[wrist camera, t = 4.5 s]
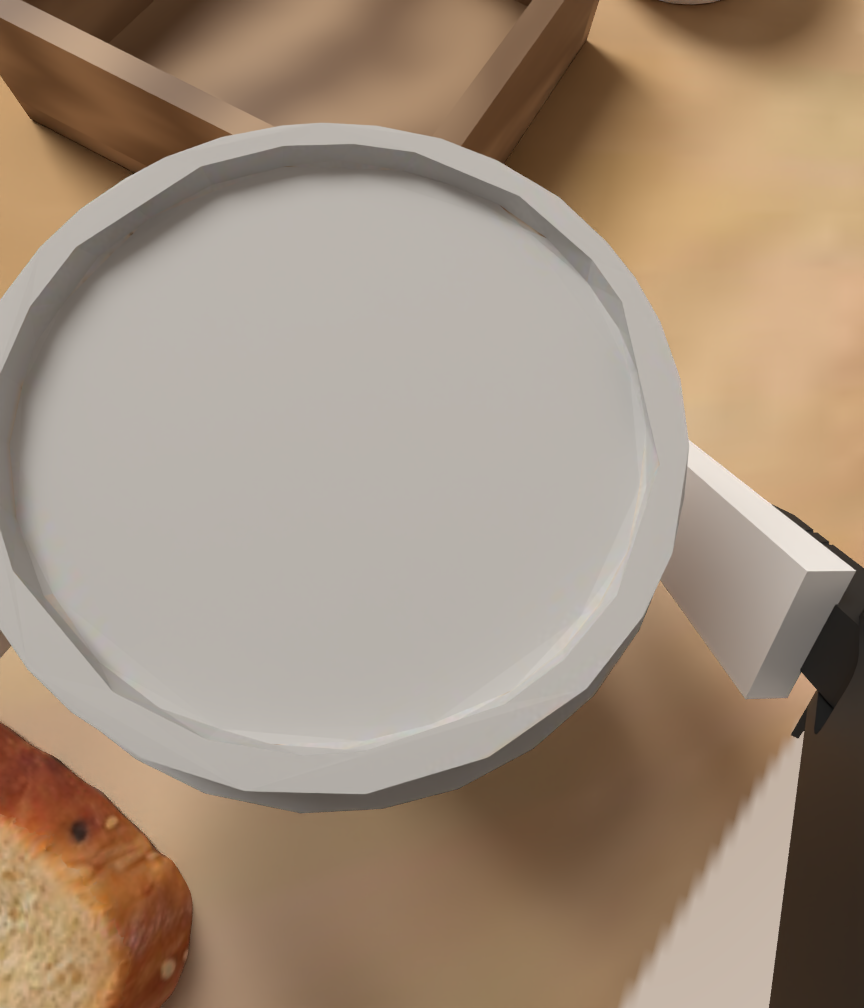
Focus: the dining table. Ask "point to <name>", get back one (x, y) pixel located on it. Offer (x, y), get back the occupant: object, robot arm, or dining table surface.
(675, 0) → the ramekin
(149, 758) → the disposable coffee cup
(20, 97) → the open wooden box
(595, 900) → the dining table surface
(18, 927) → the bread slice
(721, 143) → the dining table surface
